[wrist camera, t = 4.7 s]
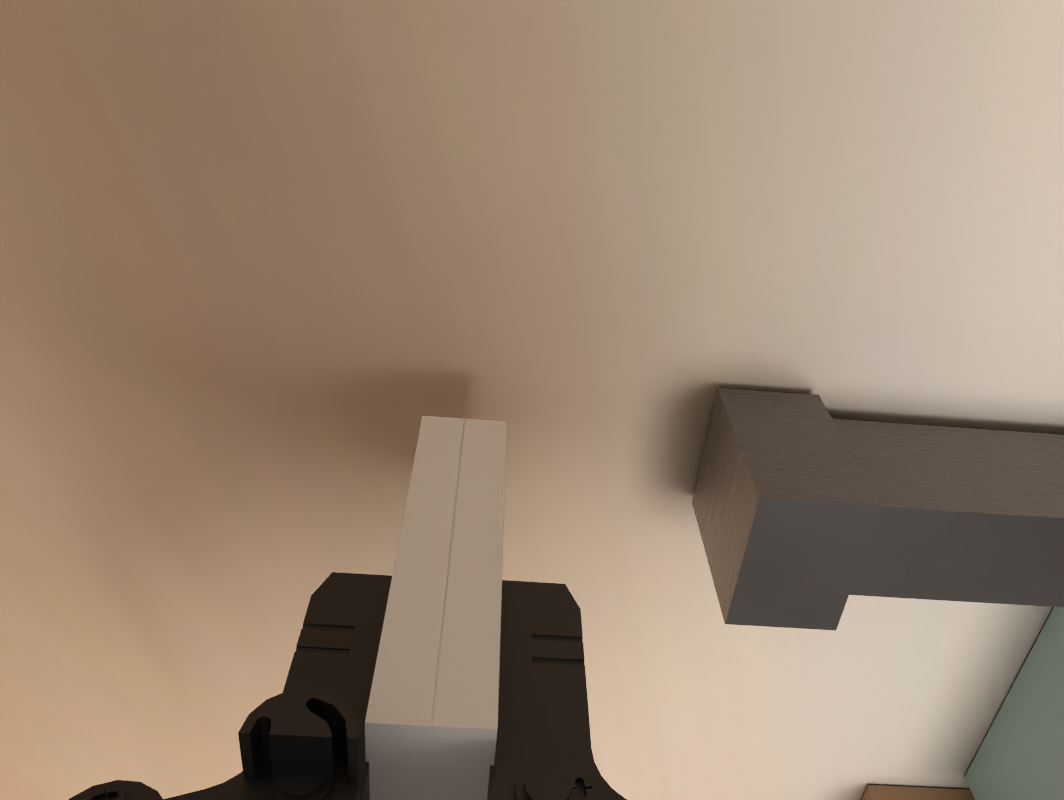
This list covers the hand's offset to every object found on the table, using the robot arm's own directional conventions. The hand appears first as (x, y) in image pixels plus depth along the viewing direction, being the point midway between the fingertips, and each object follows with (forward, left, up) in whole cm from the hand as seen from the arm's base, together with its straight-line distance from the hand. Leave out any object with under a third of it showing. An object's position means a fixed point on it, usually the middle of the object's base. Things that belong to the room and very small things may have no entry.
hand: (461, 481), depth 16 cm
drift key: (0, +10, -2) cm, 10 cm away
